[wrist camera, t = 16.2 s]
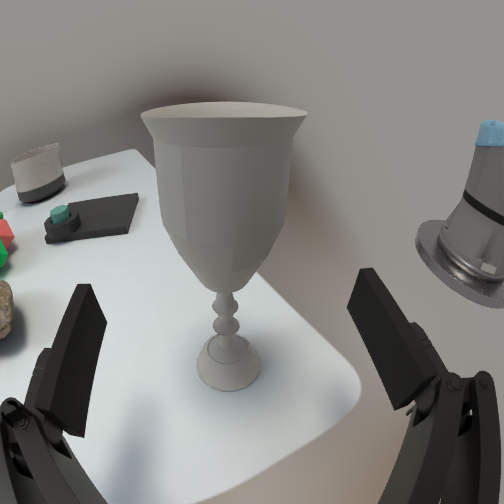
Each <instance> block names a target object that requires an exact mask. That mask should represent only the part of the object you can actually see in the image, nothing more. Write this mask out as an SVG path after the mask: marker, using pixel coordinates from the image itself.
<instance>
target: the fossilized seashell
mask: <svg viewBox="0 0 504 504" xmlns="http://www.w3.org/2000/svg"><path fill="white" fill-rule="evenodd" d="M13 319H14V311H13V295H12V290H11V288H10V286H9V284H8V283H7V282H5V281H0V339H4V338H5V337H6V336H7V335H8V334H9V333H10V331H11V328H12V324H13Z"/></svg>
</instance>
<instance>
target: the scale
mask: <svg viewBox="0 0 504 504" xmlns="http://www.w3.org/2000/svg"><path fill="white" fill-rule="evenodd" d="M138 199H139V198H138V193H133V194H126V195H118V196H111V197H104V198H98V199H91V200H85V201H79V202H73V203H69V204H68V205H67V207H68V211H69V215H70V218H68V219H67V220H66V221H63V222H61V223H58V224H53V222H52V218H51V216H50V217H49V218H48V219H47V220H46V221H45V223H44V226H45V230H46V232H47V234H46V236H45V240H46V243H47V244H49V243H56V242H64V241H71V240H78V239H86V238H94V237H102V236H110V235H119V234H127V233H128V230H129V227H130V223H131V220H132V217H133V214H134V211H135V208H136V205H137V202H138Z"/></svg>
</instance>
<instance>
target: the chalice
mask: <svg viewBox="0 0 504 504" xmlns="http://www.w3.org/2000/svg"><path fill="white" fill-rule="evenodd" d="M140 116H141V118H142V120H143V122H144V123H145V125H146V127H147V128H148V130H149V132H150V134H151V135H152V137H153V141H154V153H155V165H156V176H157V185H158V194H159V202H160V210H161V217H162V221H163V225H164V227H165V228H166V230H167V232H168V234H169V236H170V238H171V240H172V242H173V244H174V245H175V247H176V249H177V251H178V253H179V255H180V256H181V257H182V258H183V260H184V261H185V262H186V264H187V265H188V266H189V268H190V269H191V270H192V271H193V273H194V274H195V275H196V277H197V278H198V279H199V280H200V282H201V283H202V284H203V285H204V286H205V287H206V288H208V289H209V290H211V291H214V292H217V296H216V300H215V301H214V302H213V304H212V308H213V310H214V311H215V312H216V313H217V314H218V315H219V317H218V318H216V319H215V321H214V323H213V328H214V330H215V332H216V333H218V334H217V335H215V336H213V337H211V338H210V339H209V340H208V341H207V342H206V343H205V345H204V347H203V349H202V351H201V352H200V354H199V356H198V358H197V366H196V368H197V371H198V374H199V376H200V378H201V379H202V380H203V381H204V383H206V384H207V385H209V386H210V387H212V388H213V389H217V390H220V391H237V390H240V389H244V388H245V387H247V386H249V385H250V384H252V383H253V381H254V380H255V379H256V378H257V376H258V374H259V370H260V359H259V357H258V355H257V353H256V351H255V350H254V349H253V347H252V346H251V345H250V343H249V342H248V341H247V340H246V339H245V338H244V337H242V336H240V335H238V334H235V333H237V331H238V330H239V322H238V321H237V320H236V319H235V318H234V317H233V314H234V313H235V312H236V311H237V309H238V303H237V301H235V300H234V298H233V294H232V292H236V291H238V290H240V289H242V288H243V287H244V286H245V285H246V284H247V283H248V282H249V280H250V279H251V277H252V276H253V275H254V273H255V272H256V271H257V269H258V268H259V267H260V265H261V264H262V263H263V261H264V260H265V259H266V257H267V256H268V254H269V252H270V250H271V248H272V246H273V244H274V242H275V240H276V238H277V236H278V235H279V233H280V231H281V229H282V227H283V224H284V220H285V216H286V207H287V197H288V187H289V175H290V165H291V154H292V143H293V136H294V135H295V133H296V132H297V130H298V128H299V127H300V125H301V124H302V122H303V120H304V119H305V117H306V116H307V112H305V111H302V110H300V109H295V108H291V107H286V106H279V105H271V104H262V103H248V102H206V103H191V104H182V105H173V106H167V107H162V108H157V109H153V110H149V111H146V112H143V113H141V114H140Z"/></svg>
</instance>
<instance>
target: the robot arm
mask: <svg viewBox="0 0 504 504" xmlns="http://www.w3.org/2000/svg"><path fill="white" fill-rule="evenodd" d="M475 146H476V148H475V152H474V156H473V161H472V164H471V169H470V172H469V176H468V179H467V182H466V186H465V190H464V193H463V196H462V199H461V201H460V202H459V204H458V205H457V206H456V208H455V209H454V211H453V212H452V213H451V215H450V216H449V217H448V218H447V220H446V221H445V222H444V224H443V226H442V227H441V229H440V232H439V235H438V242H439V244H440V246H441V248H442V249H443V251H444V252H445V253H446V255H447V256H448V257H449V258H450V259H451V260H452V261H453V262H455V263H456V264H457V265H458V266H459V267H461V268H462V269H463V270H465V271H466V272H468V273H470V274H471V275H473V276H475V277H477V278H479V279H482V280H485V281H488V282H494V283H498V282H502V281H503V280H504V123H503V122H500V121H495V120H485V121H483V122H482V124H481V125H480V129H479V133H478V137H477V141H476V142H475ZM347 309H348V311H349V313H350V315H351V317H352V319H353V321H354V323H355V324H356V327H357V329H358V331H359V333H360V335H361V337H362V339H363V341H364V343H365V346H366V348H367V350H368V352H369V354H370V356H371V358H372V361H373V363H374V365H375V367H376V369H377V371H378V374H379V376H380V378H381V380H382V383H383V385H384V387H385V390H386V392H387V394H388V396H389V399H390V401H391V404H392V406H393V408H394V410H397V409H400V408H402V407H405V406H407V405H409V404H410V403H411V402H412V401H413V400H415V402H416V404H415V405H414V406H413V407H412V408H411V409H410V410H408V411H407V413H406V415H407V416H408V415H409V414H410V413H411V412H412V415H411V418H410V421H409V425H408V428H407V431H406V435H405V438H404V441H403V444H402V447H401V450H400V452H399V455H398V458H397V461H396V463H395V466H394V469H393V471H392V473H391V476H390V478H389V480H388V483H387V485H386V487H385V490H384V492H383V494H382V496H381V498H380V500H379V502H378V504H439V501H440V498H441V503H440V504H498V502H499V493H500V478H501V439H500V424H499V414H498V406H497V398H496V392H495V386H494V381H493V378H492V377H491V375H490V374H489V373H488V372H486V371H479V372H478V373H477V374H476V375H475V376H474V377H472V378H460V376H459V375H457V374H455V373H451V372H448V370H447V369H446V367H445V365H444V363H443V362H442V360H441V358H440V356H439V355H438V353H437V352H436V350H435V348H434V346H432V343H431V341H430V340H429V339H428V336H427V335H426V333H425V332H424V330H423V329H422V328H421V327H420V326H419V325H418V324H417V323H415V322H413V323H409V322H408V320H407V319H406V317H405V315H404V314H403V312H402V311H401V309H400V308H399V306H398V305H397V303H396V302H395V300H394V298H393V297H392V295H391V294H390V292H389V291H388V289H387V288H386V286H385V285H384V283H383V282H382V280H381V279H380V278H379V276H378V275H377V273H376V272H375V270H374V269H373V268H363V269H360V270H359V274H358V277H357V280H356V283H355V286H354V288H353V291H352V294H351V297H350V300H349V303H348V305H347ZM106 325H107V321H106V319H105V316H104V314H103V312H102V310H101V308H100V305H99V303H98V301H97V298H96V296H95V294H94V291H93V289H92V286H91V284H77V286H76V288H75V290H74V293H73V295H72V297H71V299H70V302H69V304H68V306H67V309H66V311H65V314H64V316H63V318H62V321H61V323H60V326H59V329H58V331H57V334H56V337H55V339H54V342H53V345H52V348H44V350H43V351H42V352H41V354H40V355H39V356H38V359H37V362H36V365H35V368H34V371H33V374H32V375H33V376H32V377H31V381H30V384H29V388H28V391H27V395H26V398H25V402H24V405H23V404H22V403H20V402H19V401H18V400H17V399H15V398H12V397H10V398H7V399H5V400H4V401H3V402H2V404H1V406H0V504H108V503H107V502H106V501H105V499H104V498H103V497H102V495H101V494H100V493H99V491H98V490H97V489H96V487H95V486H94V484H93V483H92V482H91V480H90V479H89V477H88V476H87V474H86V473H85V471H84V470H83V468H82V467H81V465H80V463H79V462H78V460H77V458H76V457H75V455H74V453H73V452H72V450H71V448H70V447H69V445H68V443H67V441H66V439H65V438H64V437H63V435H62V434H63V430H64V431H65V432H66V433H68V434H69V435H73V436H78V437H82V438H84V436H85V428H86V420H87V414H88V407H89V401H90V396H91V390H92V385H93V380H94V375H95V370H96V366H97V361H98V357H99V353H100V348H101V344H102V340H103V337H104V333H105V329H106ZM471 409H472V415H470V410H471ZM441 495H442V496H441Z"/></svg>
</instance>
